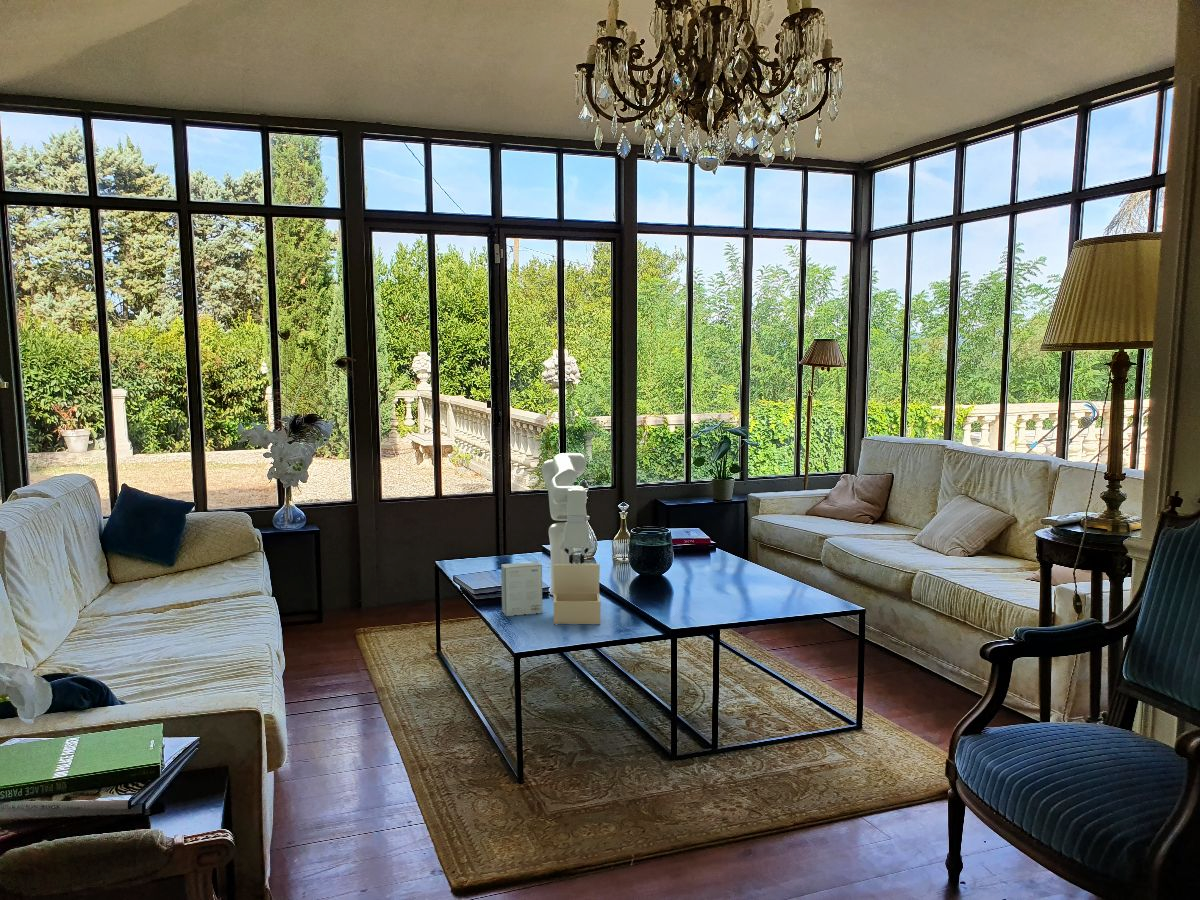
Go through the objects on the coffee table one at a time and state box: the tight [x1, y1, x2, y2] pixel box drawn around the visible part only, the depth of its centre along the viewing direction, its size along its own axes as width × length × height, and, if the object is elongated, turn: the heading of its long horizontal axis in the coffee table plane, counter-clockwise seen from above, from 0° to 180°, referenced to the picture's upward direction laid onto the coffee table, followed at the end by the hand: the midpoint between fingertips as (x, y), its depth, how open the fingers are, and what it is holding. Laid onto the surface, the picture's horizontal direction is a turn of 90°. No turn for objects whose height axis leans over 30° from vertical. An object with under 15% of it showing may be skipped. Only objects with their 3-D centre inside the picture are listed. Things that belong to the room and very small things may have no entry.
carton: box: [553, 592, 602, 625], centre depth 333 cm, size 14×18×9 cm
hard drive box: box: [500, 561, 544, 617], centre depth 342 cm, size 16×8×20 cm, turn 108°
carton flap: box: [554, 554, 601, 594], centre depth 339 cm, size 14×18×8 cm
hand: (576, 564), depth 339 cm, fingers closed on carton flap, 3 cm apart
